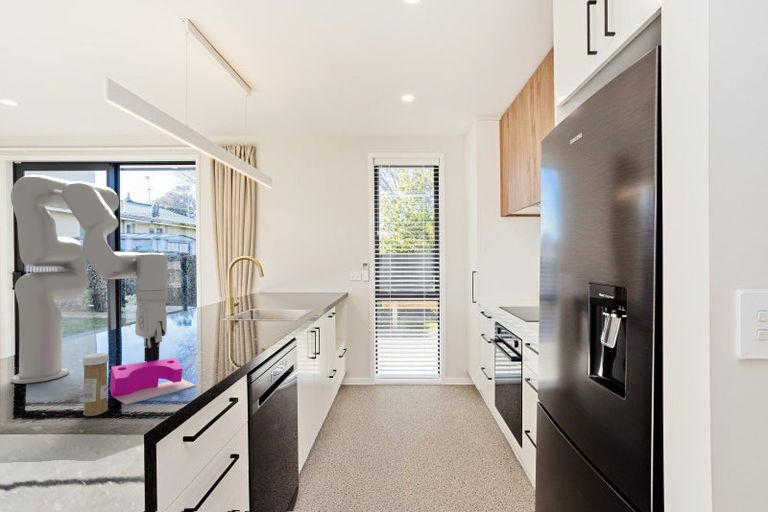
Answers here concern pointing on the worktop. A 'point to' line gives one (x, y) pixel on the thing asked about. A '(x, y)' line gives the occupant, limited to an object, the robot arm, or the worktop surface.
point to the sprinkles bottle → (95, 384)
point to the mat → (154, 391)
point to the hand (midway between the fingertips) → (151, 360)
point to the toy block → (143, 375)
